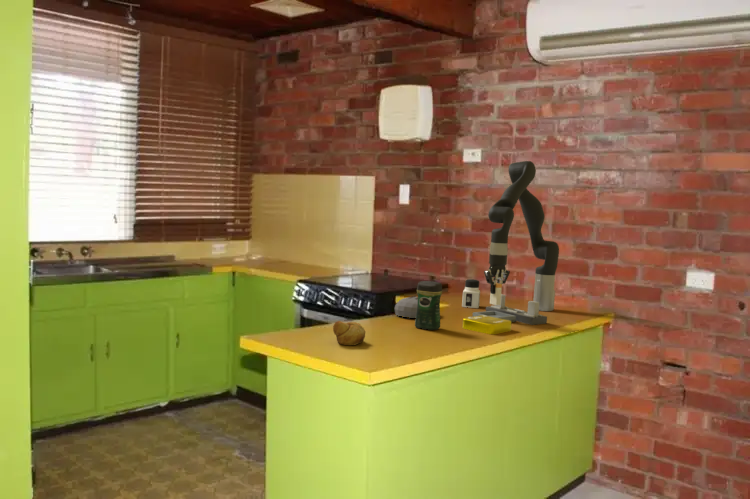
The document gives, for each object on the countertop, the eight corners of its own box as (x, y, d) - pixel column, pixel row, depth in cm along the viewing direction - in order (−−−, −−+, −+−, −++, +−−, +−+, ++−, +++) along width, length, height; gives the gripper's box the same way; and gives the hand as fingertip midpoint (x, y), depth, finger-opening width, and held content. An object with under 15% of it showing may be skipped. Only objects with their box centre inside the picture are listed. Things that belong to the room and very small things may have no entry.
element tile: (491, 335, 265) (492, 323, 265) (460, 329, 276) (460, 317, 275) (512, 331, 276) (513, 319, 276) (481, 325, 287) (482, 313, 286)
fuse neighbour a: (497, 313, 315) (499, 293, 315) (504, 314, 312) (505, 295, 311) (493, 313, 314) (495, 293, 313) (500, 315, 311) (501, 295, 310)
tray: (494, 316, 306) (494, 310, 306) (515, 321, 296) (516, 316, 296) (472, 318, 299) (472, 312, 299) (493, 323, 288) (494, 317, 288)
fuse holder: (499, 312, 319) (500, 304, 319) (546, 323, 296) (547, 315, 296) (485, 313, 314) (486, 305, 313) (532, 324, 291) (532, 316, 290)
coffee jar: (442, 328, 272) (445, 281, 271) (434, 331, 266) (437, 283, 264) (420, 324, 277) (423, 279, 276) (411, 327, 270) (414, 280, 269)
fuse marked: (493, 303, 299) (495, 282, 298) (500, 304, 296) (502, 284, 295) (489, 303, 298) (491, 282, 297) (496, 305, 294) (497, 284, 294)
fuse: (530, 321, 299) (532, 300, 298) (537, 323, 296) (539, 302, 295) (526, 321, 298) (528, 301, 297) (533, 323, 294) (535, 302, 294)
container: (478, 308, 325) (480, 281, 324) (461, 307, 327) (463, 279, 326) (479, 306, 333) (481, 279, 332) (463, 304, 334) (464, 278, 333)
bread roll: (348, 337, 246) (349, 315, 246) (372, 341, 242) (373, 319, 241) (329, 344, 235) (330, 320, 234) (354, 348, 231) (355, 324, 230)
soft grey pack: (408, 310, 310) (387, 316, 292) (409, 292, 309) (388, 297, 291) (438, 315, 302) (419, 321, 285) (440, 296, 302) (420, 301, 284)
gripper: (503, 252, 302) (500, 291, 303) (480, 252, 294) (477, 292, 296) (516, 254, 296) (513, 294, 297) (492, 254, 288) (489, 295, 289)
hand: (495, 293), depth 296 cm, fingers closed on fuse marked, 2 cm apart
